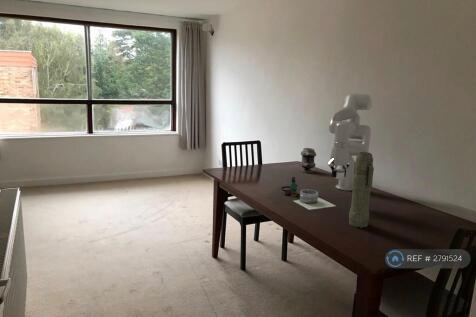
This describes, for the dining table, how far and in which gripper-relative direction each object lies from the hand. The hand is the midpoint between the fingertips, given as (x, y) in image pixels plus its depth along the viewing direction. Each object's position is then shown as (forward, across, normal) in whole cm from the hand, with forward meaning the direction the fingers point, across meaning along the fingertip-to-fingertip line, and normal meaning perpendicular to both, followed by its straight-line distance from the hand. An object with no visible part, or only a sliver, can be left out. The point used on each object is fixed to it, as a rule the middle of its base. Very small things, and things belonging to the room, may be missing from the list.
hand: (338, 176), depth 201 cm
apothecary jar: (+16, -28, -70) cm, 77 cm away
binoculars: (+16, +18, -22) cm, 32 cm away
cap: (+1, 0, 0) cm, 1 cm away
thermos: (+15, +12, +31) cm, 37 cm away
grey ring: (+15, +15, -6) cm, 22 cm away
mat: (+15, +14, -2) cm, 21 cm away
